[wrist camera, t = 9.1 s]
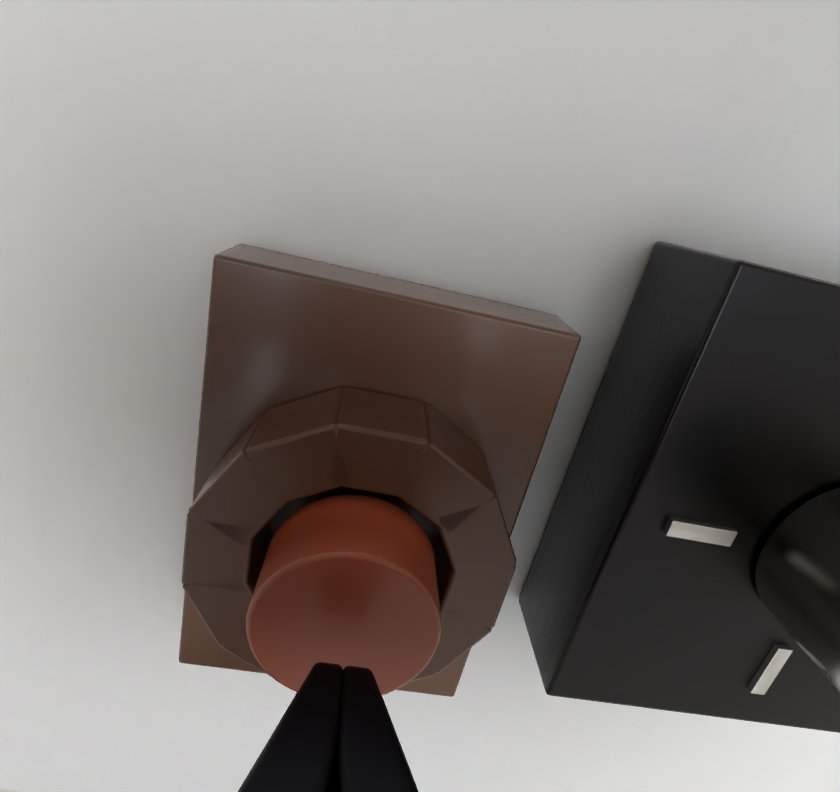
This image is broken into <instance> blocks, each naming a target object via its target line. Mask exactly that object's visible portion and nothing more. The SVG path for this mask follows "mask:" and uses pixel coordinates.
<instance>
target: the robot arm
mask: <svg viewBox="0 0 840 792" xmlns="http://www.w3.org/2000/svg"><path fill="white" fill-rule="evenodd" d="M238 792H418V789H417V787H416V784H415V781H414V779H413V776H412V773H411V771H410V768H409V766H408V763H407V760H406V758H405V755H404V753H403V750H402V747H401V745H400V742H399V739H398V737H397V734H396V732H395V729H394V726H393V724H392V721H391V719H390V716H389V713H388V711H387V708H386V705H385V703H384V700H383V698H382V695H381V692H380V690H379V687H378V684H377V682H376V679H375V677H374V674H373V672H372V671H371V670H370V669H368V668H363V667H355V666H346V667H345V668H344V669H343V668H342V666H341V665H339V664H332V663H324V662H318V663H316V664H315V665H314V666H313V667H312V669H311V671H310V672H309V674H308V676H307V677H306V679H305V681H304V682H303V684H302V686H301V687H300V689H299V691H298V692H297V694H296V696H295V697H294V699H293V701H292V702H291V704H290V706H289V707H288V709H287V711H286V712H285V714H284V716H283V717H282V719H281V721H280V722H279V724H278V726H277V727H276V729H275V731H274V732H273V734H272V736H271V737H270V739H269V741H268V742H267V744H266V746H265V747H264V749H263V751H262V752H261V754H260V756H259V757H258V759H257V761H256V762H255V764H254V765H253V767H252V769H251V770H250V772H249V774H248V775H247V777H246V779H245V780H244V782H243V784H242V785H241V787H240V789H239V790H238Z"/></svg>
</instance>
